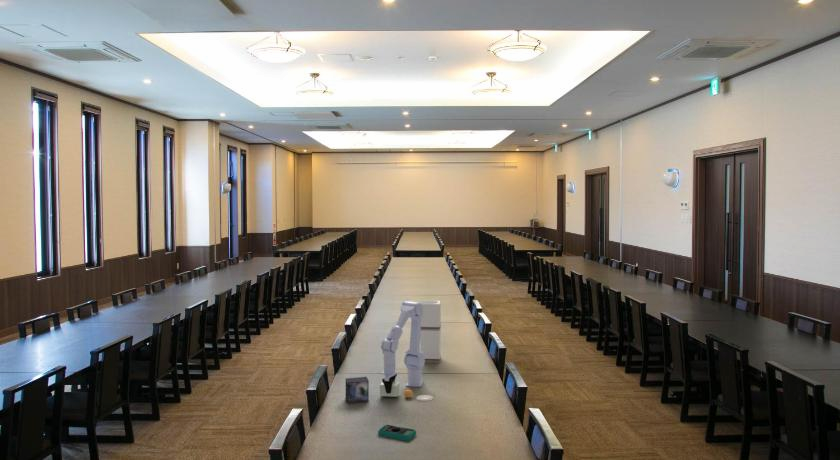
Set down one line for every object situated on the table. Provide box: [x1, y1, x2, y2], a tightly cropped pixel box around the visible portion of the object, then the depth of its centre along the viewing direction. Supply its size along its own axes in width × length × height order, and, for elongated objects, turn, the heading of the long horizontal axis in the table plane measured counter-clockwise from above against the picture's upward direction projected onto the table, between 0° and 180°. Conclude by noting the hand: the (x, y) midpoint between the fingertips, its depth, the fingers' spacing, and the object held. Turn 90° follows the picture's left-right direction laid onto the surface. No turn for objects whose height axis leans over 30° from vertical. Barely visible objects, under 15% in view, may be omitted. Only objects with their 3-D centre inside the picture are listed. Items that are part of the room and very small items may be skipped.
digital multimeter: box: [377, 424, 417, 442], centre depth 235 cm, size 7×15×3 cm, turn 65°
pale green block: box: [379, 381, 400, 398], centre depth 280 cm, size 6×8×6 cm
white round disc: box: [416, 394, 434, 402], centre depth 278 cm, size 8×8×1 cm
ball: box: [403, 389, 413, 398], centre depth 279 cm, size 4×4×4 cm
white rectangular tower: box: [420, 300, 442, 364], centre depth 343 cm, size 11×11×35 cm
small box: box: [344, 376, 370, 404], centre depth 275 cm, size 11×6×10 cm, turn 105°
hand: (389, 390), depth 280 cm, fingers closed on pale green block, 6 cm apart
